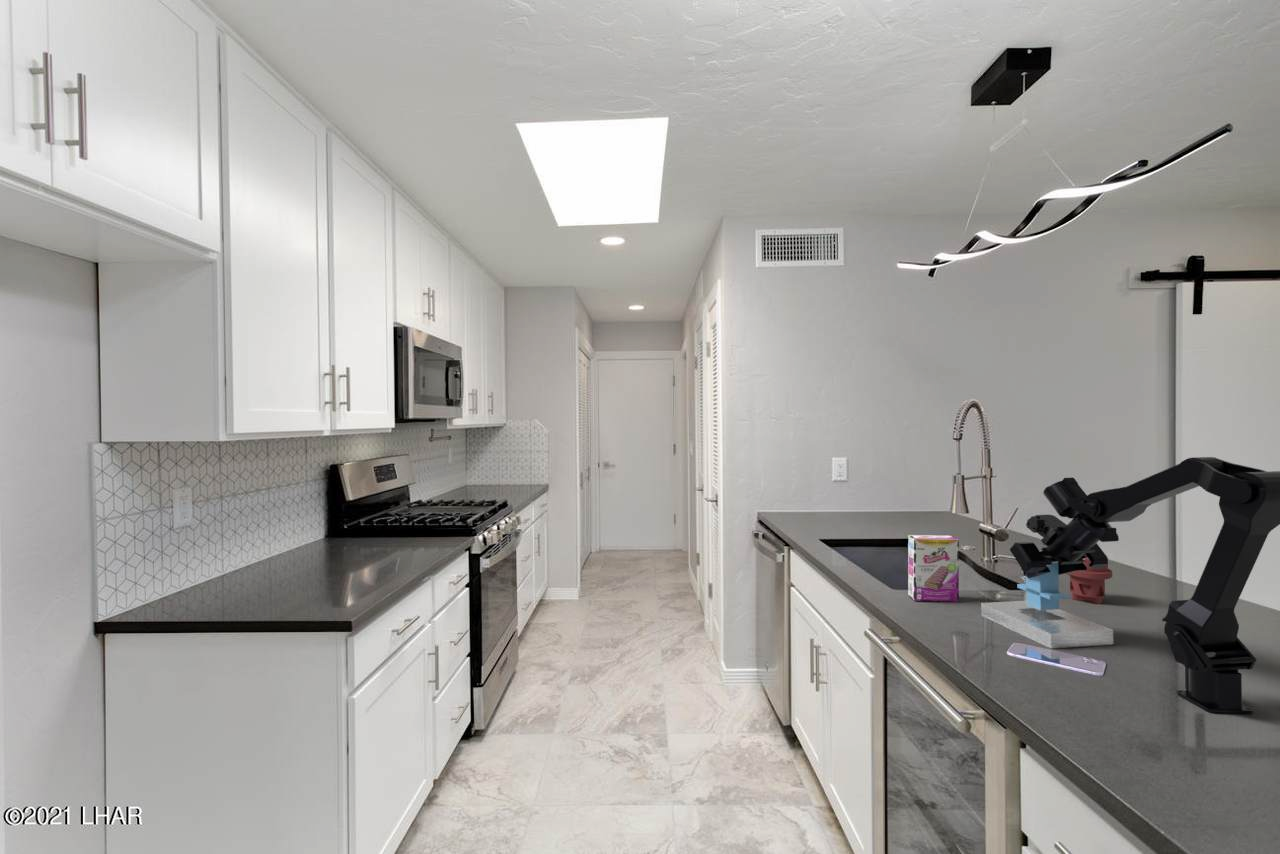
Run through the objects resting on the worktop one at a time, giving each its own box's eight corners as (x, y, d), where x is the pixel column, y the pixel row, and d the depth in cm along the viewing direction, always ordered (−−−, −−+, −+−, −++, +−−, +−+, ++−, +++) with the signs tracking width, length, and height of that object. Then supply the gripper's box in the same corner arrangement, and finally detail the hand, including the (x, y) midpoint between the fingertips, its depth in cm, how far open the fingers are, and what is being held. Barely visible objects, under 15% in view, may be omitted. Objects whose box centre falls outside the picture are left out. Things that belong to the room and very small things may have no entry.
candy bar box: (914, 602, 146) (913, 538, 146) (907, 596, 151) (906, 534, 151) (960, 602, 145) (959, 538, 145) (951, 596, 150) (951, 534, 150)
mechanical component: (1121, 607, 139) (1072, 604, 142) (1101, 595, 149) (1056, 592, 152) (1120, 557, 139) (1072, 555, 142) (1100, 548, 149) (1055, 546, 152)
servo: (1068, 612, 122) (1067, 556, 122) (1050, 614, 122) (1049, 557, 121) (1035, 600, 131) (1034, 547, 131) (1017, 601, 130) (1016, 548, 130)
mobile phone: (1013, 640, 119) (1106, 660, 108) (1013, 645, 119) (1106, 665, 108) (1005, 651, 113) (1102, 673, 103) (1005, 656, 113) (1102, 678, 103)
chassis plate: (1113, 644, 117) (1113, 629, 117) (1051, 648, 116) (1050, 633, 116) (1035, 612, 137) (1035, 600, 137) (981, 615, 135) (981, 603, 135)
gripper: (1095, 502, 123) (1053, 543, 134) (1015, 505, 121) (979, 546, 132) (1130, 546, 115) (1083, 586, 126) (1046, 550, 113) (1006, 590, 124)
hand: (1037, 575), depth 128 cm, fingers closed on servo, 4 cm apart
